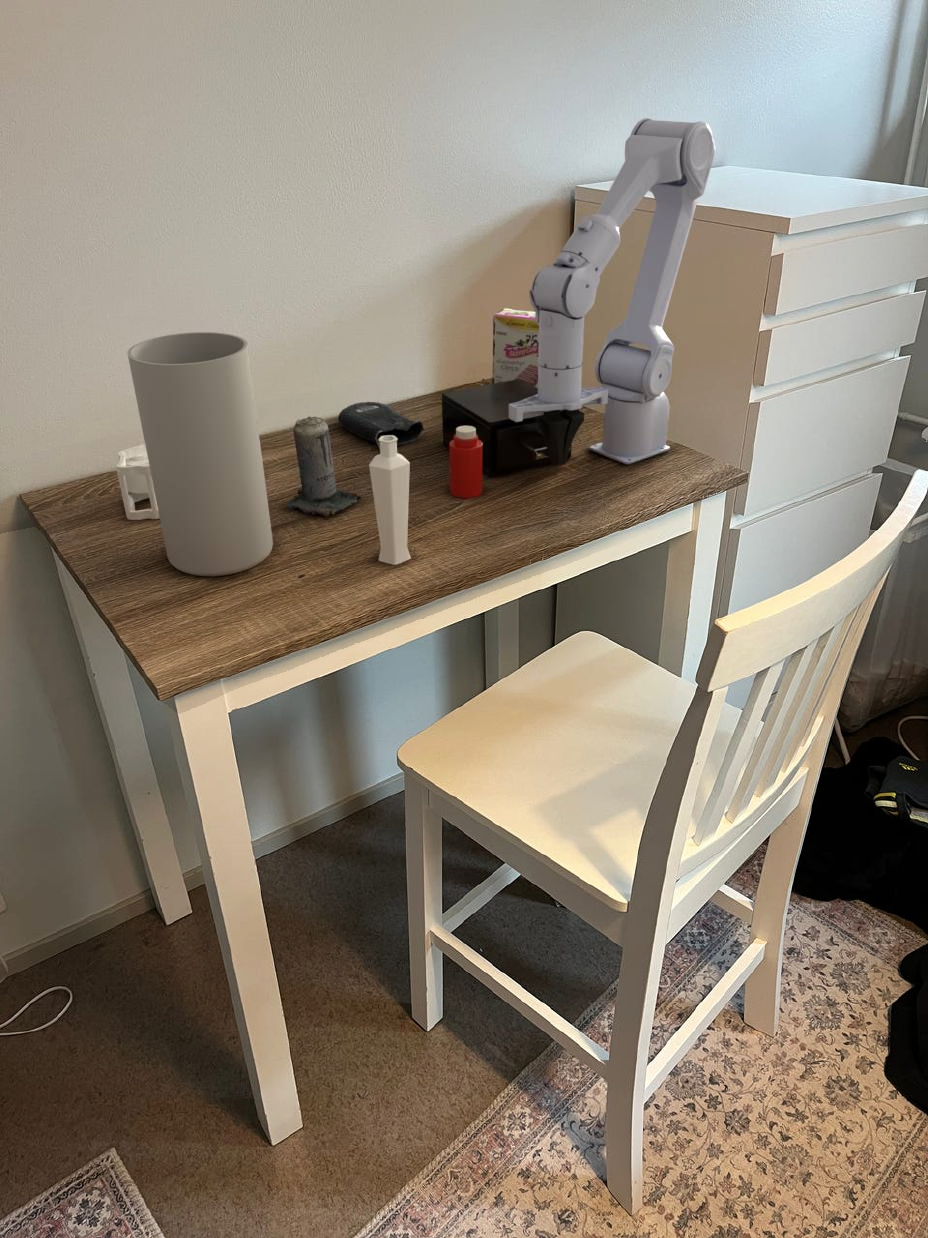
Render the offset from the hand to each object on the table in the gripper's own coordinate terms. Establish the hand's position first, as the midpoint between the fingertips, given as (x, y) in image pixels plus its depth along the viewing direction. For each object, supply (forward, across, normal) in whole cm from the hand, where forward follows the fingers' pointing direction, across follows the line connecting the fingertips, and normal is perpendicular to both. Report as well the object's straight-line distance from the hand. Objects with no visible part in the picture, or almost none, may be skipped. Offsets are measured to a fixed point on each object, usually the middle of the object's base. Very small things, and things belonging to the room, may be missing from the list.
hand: (557, 462), depth 130 cm
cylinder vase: (+3, -47, +3) cm, 47 cm away
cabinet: (+3, 0, +14) cm, 14 cm away
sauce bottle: (+3, -12, +4) cm, 13 cm away
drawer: (+2, 0, +10) cm, 10 cm away
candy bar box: (+3, +11, +26) cm, 28 cm away
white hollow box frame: (+3, -45, +22) cm, 50 cm away
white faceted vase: (+4, -29, -8) cm, 30 cm away
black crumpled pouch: (+3, -13, +32) cm, 34 cm away
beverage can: (+3, -30, +10) cm, 32 cm away
